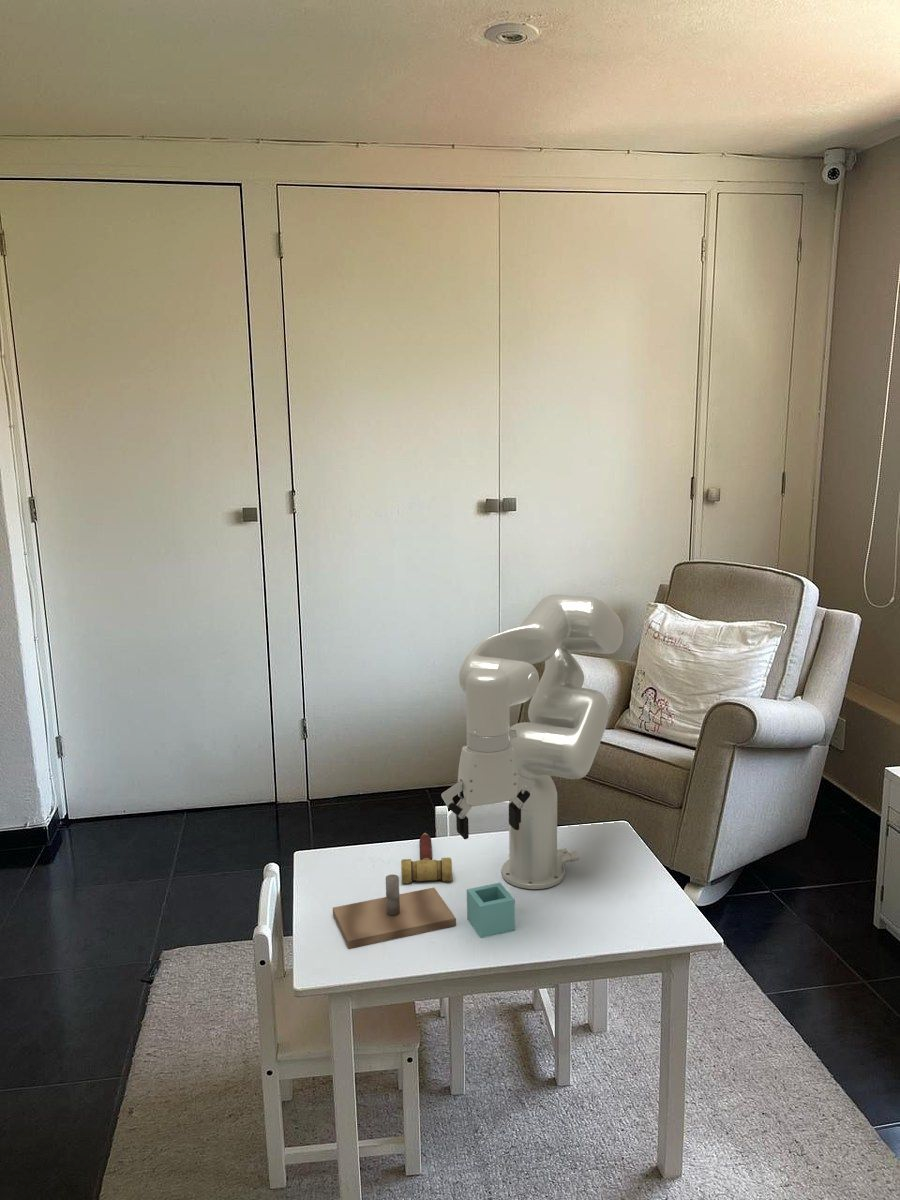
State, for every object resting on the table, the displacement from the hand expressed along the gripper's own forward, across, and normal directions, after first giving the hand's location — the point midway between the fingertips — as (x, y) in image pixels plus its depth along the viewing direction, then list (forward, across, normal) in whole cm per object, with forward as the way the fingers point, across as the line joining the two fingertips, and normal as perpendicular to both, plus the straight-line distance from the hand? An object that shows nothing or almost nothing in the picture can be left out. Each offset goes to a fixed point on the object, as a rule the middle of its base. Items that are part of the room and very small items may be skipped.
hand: (489, 831), depth 165 cm
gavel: (+19, +3, -28) cm, 34 cm away
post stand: (+18, +16, -8) cm, 25 cm away
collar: (+18, 0, 0) cm, 18 cm away
